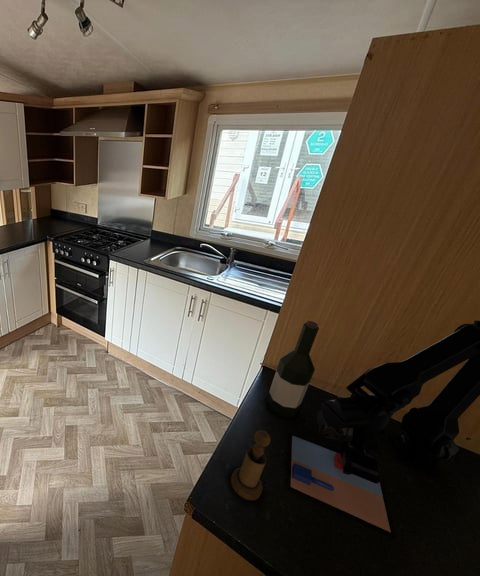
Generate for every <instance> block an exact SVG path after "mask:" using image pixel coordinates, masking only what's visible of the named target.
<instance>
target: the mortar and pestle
mask: <svg viewBox="0 0 480 576" xmlns="http://www.w3.org/2000/svg"><path fill="white" fill-rule="evenodd" d="M253 436H254V437H253V438H254V441H255V443H254V444H253V445H252V447H249V448H248V449H247V450H246V452H245V456H244V458H243V462H242V465H241V467H237V468H235V469H234V470H233V471H232V474H231V476H230V485H231V487H232V489H233V491H234V492H235V493H236V494H237V495H238V496H240V497H241V498H242V499H244V500H248V501H256V500H258V499H260V497H261V495H262V492H263V488H264V486H263V482H262V479H261V476H262V474H263V471H264V468H265V466H266V464H267V461H268V459H267V456H266V454H265V452H266V449H265V447H268V446H269V445H270V443H271V441H272V440H271V436H270V434H269V433H268V432H267V431H265V430H261V429H259V430H257V431H256V432H255V433H254V435H253Z"/></svg>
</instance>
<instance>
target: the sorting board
mask: <svg viewBox="0 0 480 576" xmlns="http://www.w3.org/2000/svg"><path fill="white" fill-rule="evenodd" d="M336 453H338V454H340V452H336V451H333V450H331V449H328V448H326V447H323V446H321V445H318V444H315V443H313V442H310V441H308V440H305V439H303V438H300V437H298V436H295V435H292V436H291V466H290V488H292V489H295V490H297V491H299V492H301V493H302V494H305V495H308V496H309V497H312V498H314V499H317V500H319V501H320V502H323V503H325V504H327V505H330V506H331V507H334V508H337V509H339V510H340V511H343V512H345V513H347V514H349V515H352V516H354V517H357V519H358V518H359V519H360V520H363V521H365V522H366V523H369V524H371V525H373V526H376V527H378V528H381V529H382V530H384V531H387V532H389V533H391V532H392V531H391V526H390V523H389V518H388V513H387V510H386V505H385V501H384V500H385V499H384V496H383V491H382V487H381V481H380V482H379V483H377V484H375V483H373V482H370V481H368V480H365V479H363V478H361V477H358V476H356V475H353V474H350V475H347V474H344V473H343V470H341V469H339V468H336V467H335V463H334V456H335V455H336ZM340 455H341V454H340ZM294 463H296V464H298V465H300V466H303V467H305V468H308V469H310V470H312V477H314V478H317V479H319V480H321V481H323V482H326V483H328V484H330V485H332V486H333V487H334V490H333V491H331V490H328V489H326V488H324V487H322V486H319V485H317V484H315V483H312V482H311V484H310V486H309V485H307V484H305V483H302V482H300V481H298V480H296V479H293V478H292V467H293V465H294Z"/></svg>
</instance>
